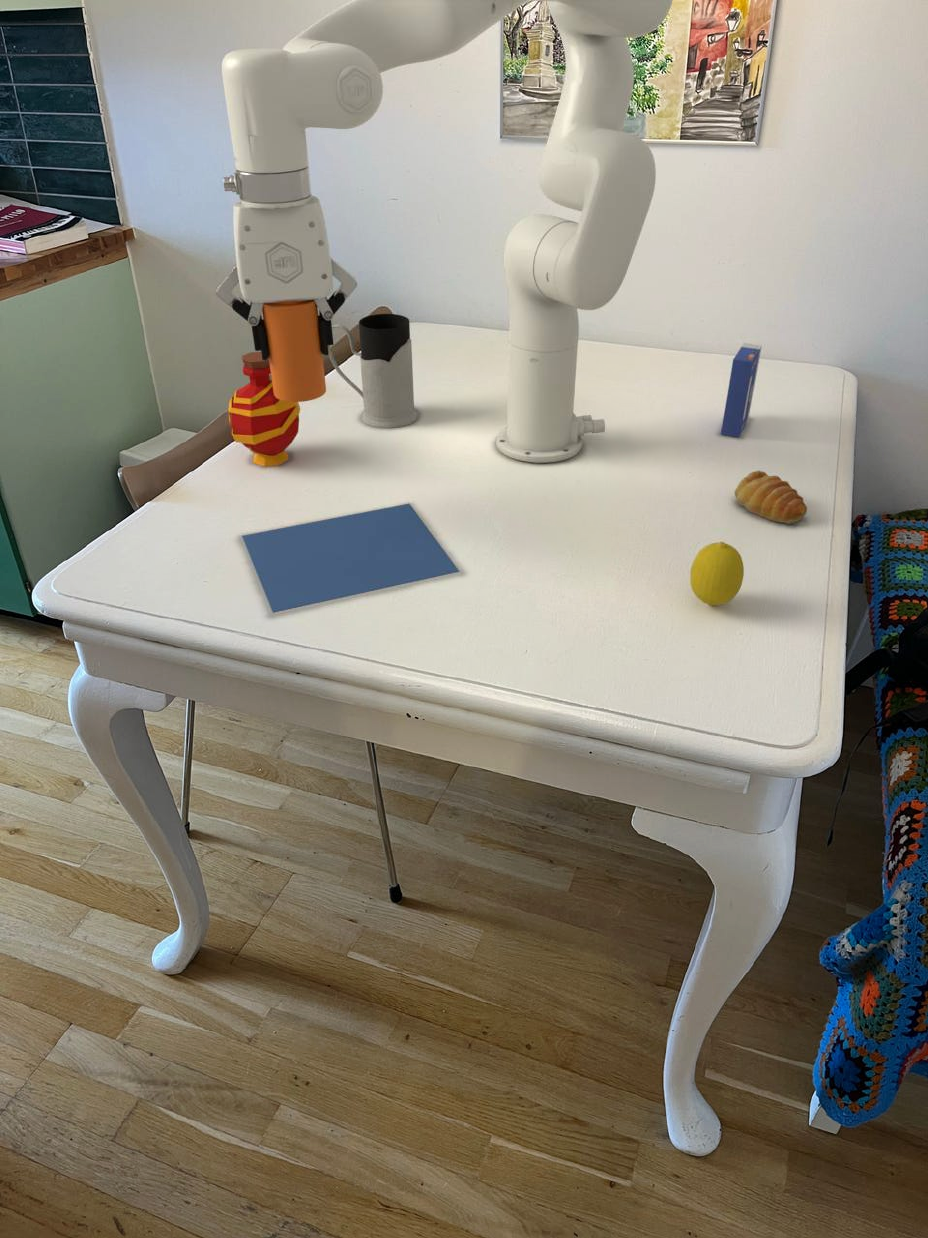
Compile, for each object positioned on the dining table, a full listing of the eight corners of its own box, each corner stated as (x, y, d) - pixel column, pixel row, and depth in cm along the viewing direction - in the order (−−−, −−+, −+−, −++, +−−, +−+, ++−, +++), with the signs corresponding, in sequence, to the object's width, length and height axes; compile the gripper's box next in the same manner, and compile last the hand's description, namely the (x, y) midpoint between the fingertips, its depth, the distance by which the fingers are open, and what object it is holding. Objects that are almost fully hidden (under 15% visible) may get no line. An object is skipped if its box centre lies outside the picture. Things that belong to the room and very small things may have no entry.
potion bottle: (292, 477, 128) (279, 372, 120) (223, 470, 130) (205, 367, 121) (317, 445, 137) (306, 345, 128) (251, 440, 138) (236, 341, 130)
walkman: (739, 438, 138) (753, 359, 131) (720, 434, 139) (733, 356, 132) (749, 418, 144) (763, 342, 137) (731, 415, 145) (744, 339, 138)
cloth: (409, 505, 121) (409, 503, 121) (459, 573, 108) (459, 571, 108) (242, 537, 115) (241, 535, 115) (273, 614, 101) (272, 612, 101)
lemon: (679, 592, 104) (689, 531, 100) (727, 590, 105) (739, 528, 100) (694, 621, 100) (704, 557, 95) (744, 618, 100) (757, 555, 95)
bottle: (324, 380, 113) (309, 237, 104) (328, 399, 108) (312, 251, 99) (273, 384, 112) (253, 241, 103) (274, 404, 107) (253, 255, 98)
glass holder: (405, 430, 141) (400, 333, 132) (320, 419, 145) (310, 323, 136) (425, 409, 148) (422, 315, 139) (344, 399, 151) (336, 306, 143)
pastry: (818, 518, 118) (824, 491, 116) (780, 532, 115) (786, 505, 113) (763, 489, 124) (768, 463, 122) (726, 502, 122) (730, 476, 119)
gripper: (188, 198, 93) (218, 371, 103) (360, 189, 95) (372, 358, 106) (192, 183, 99) (220, 348, 109) (353, 175, 101) (366, 337, 112)
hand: (295, 352), depth 107 cm, fingers closed on bottle, 6 cm apart
